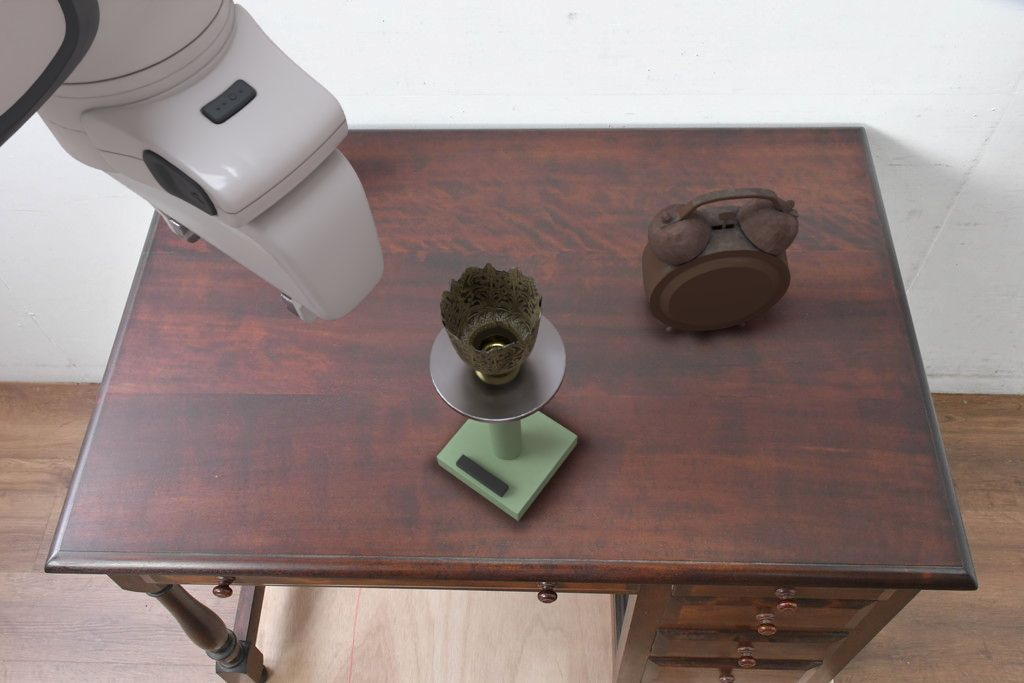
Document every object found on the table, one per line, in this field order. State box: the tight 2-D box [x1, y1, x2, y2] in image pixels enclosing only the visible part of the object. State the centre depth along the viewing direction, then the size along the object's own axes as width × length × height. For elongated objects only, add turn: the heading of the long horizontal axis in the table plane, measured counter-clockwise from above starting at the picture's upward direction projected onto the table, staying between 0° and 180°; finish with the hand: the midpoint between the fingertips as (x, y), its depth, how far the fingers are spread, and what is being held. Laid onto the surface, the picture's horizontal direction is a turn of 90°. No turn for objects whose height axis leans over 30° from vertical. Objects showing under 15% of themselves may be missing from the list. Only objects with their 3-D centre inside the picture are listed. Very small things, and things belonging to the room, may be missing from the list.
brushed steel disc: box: [429, 315, 567, 424], centre depth 65 cm, size 11×11×2 cm
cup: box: [439, 262, 544, 375], centre depth 60 cm, size 8×7×8 cm
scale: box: [436, 410, 578, 522], centre depth 73 cm, size 10×10×18 cm
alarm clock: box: [641, 187, 800, 333], centre depth 80 cm, size 15×7×20 cm, turn 94°
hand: (250, 268), depth 45 cm, fingers open, 8 cm apart
